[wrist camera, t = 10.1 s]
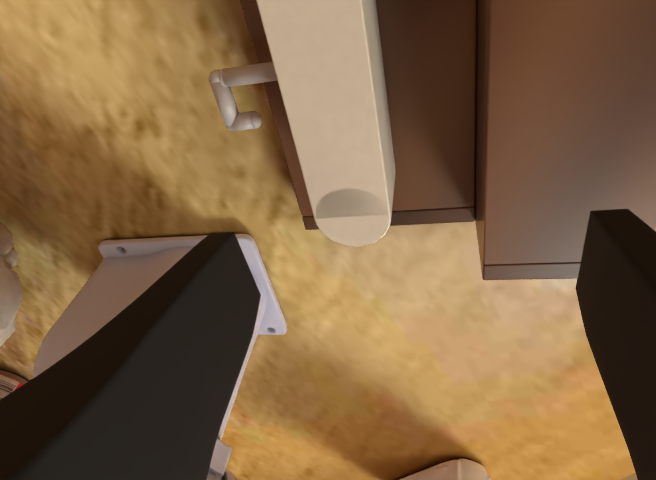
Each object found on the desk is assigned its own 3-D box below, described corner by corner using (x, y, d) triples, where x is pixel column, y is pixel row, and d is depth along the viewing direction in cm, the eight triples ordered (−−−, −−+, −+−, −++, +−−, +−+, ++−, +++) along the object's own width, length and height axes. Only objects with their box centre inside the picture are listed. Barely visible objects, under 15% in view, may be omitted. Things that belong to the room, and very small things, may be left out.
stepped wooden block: (311, 211, 23) (288, 284, 19) (187, -252, 13) (88, -287, 9) (649, 190, 19) (703, 276, 15) (846, -476, 9) (1133, -689, 5)
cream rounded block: (272, 204, 21) (252, 251, 18) (149, -166, 13) (87, -166, 11) (398, 195, 19) (394, 245, 17) (349, -225, 11) (329, -241, 9)
